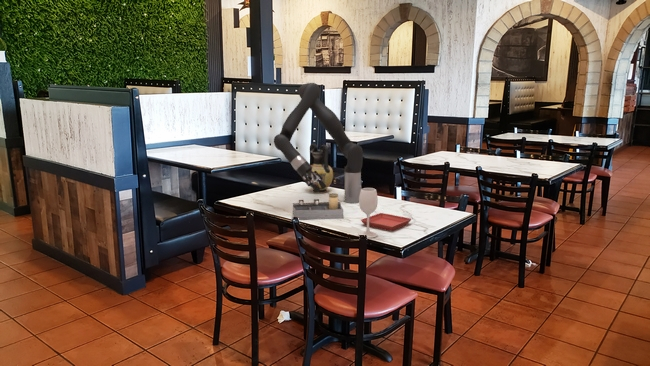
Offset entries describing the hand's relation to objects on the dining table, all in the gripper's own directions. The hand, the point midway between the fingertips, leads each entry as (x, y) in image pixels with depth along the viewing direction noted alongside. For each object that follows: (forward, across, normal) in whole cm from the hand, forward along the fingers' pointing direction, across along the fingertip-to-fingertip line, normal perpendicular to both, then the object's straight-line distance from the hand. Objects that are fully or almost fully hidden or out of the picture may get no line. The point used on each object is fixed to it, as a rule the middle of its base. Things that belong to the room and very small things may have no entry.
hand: (321, 189), depth 256 cm
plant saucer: (+35, -5, -15) cm, 39 cm away
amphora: (-7, +50, +26) cm, 57 cm away
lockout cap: (+13, 0, +4) cm, 14 cm away
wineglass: (+33, -24, -13) cm, 43 cm away
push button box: (+9, -2, +11) cm, 14 cm away
